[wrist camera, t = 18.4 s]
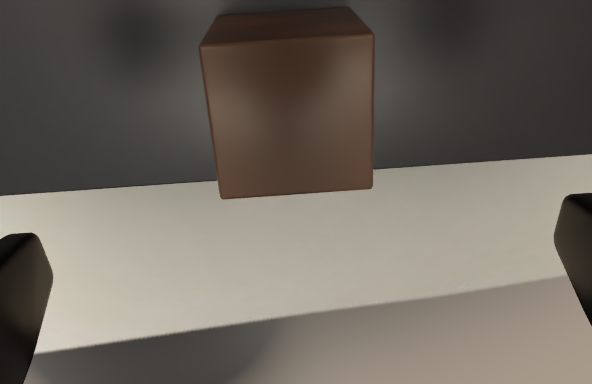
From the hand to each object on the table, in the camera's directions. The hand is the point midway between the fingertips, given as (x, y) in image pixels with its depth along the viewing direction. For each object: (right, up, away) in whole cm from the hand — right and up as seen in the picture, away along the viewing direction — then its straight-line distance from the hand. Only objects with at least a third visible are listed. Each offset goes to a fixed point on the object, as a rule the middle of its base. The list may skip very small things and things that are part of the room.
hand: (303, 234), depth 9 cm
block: (0, +4, +7) cm, 8 cm away
